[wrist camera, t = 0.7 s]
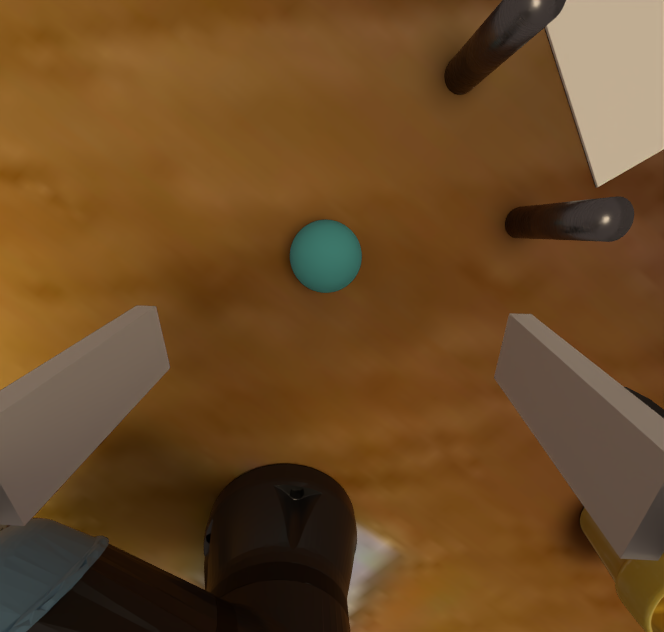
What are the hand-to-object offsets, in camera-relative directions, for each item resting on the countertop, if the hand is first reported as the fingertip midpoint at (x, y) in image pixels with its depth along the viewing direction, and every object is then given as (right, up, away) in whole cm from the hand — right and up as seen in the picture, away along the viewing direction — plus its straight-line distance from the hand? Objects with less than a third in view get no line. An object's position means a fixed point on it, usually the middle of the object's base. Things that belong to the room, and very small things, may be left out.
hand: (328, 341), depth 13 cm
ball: (0, +6, +13) cm, 14 cm away
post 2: (+16, +9, +16) cm, 25 cm away
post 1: (+10, +19, +13) cm, 25 cm away
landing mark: (+25, +21, +13) cm, 36 cm away
